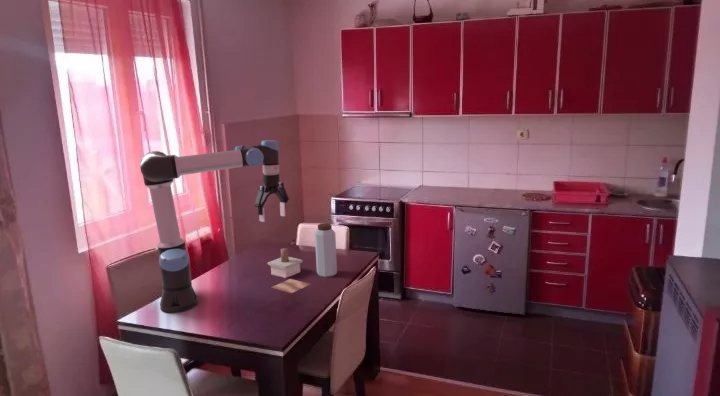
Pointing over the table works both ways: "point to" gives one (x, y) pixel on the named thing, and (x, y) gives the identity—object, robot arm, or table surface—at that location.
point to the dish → (285, 271)
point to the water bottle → (325, 250)
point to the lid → (285, 260)
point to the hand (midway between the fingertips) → (272, 218)
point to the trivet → (290, 285)
